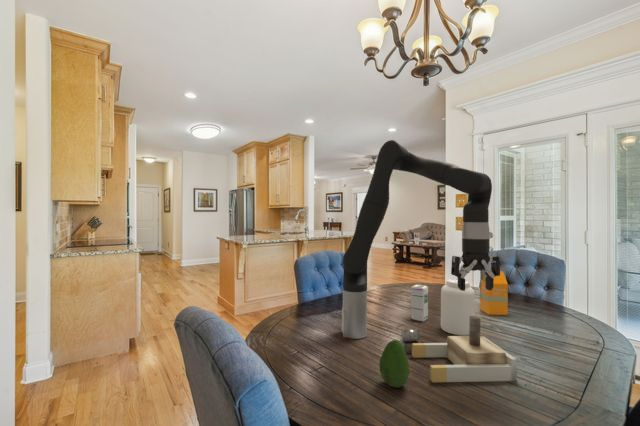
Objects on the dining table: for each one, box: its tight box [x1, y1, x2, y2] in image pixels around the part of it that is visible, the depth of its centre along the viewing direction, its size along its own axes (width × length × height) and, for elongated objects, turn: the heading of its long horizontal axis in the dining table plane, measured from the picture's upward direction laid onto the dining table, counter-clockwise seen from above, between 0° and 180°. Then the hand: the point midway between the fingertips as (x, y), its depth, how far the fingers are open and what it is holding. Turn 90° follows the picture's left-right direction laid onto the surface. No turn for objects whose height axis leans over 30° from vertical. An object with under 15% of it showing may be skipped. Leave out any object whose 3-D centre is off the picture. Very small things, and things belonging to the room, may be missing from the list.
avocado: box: [378, 339, 411, 389], centre depth 82 cm, size 8×8×12 cm
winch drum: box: [399, 328, 422, 354], centre depth 104 cm, size 6×4×7 cm, turn 93°
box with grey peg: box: [446, 315, 506, 365], centre depth 93 cm, size 11×12×15 cm
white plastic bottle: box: [440, 278, 476, 336], centre depth 122 cm, size 12×12×20 cm
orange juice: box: [480, 270, 509, 316], centre depth 146 cm, size 8×9×20 cm
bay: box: [411, 336, 518, 383], centre depth 93 cm, size 24×16×6 cm, turn 93°
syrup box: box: [410, 284, 429, 322], centre depth 136 cm, size 6×6×14 cm
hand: (475, 289), depth 94 cm, fingers open, 8 cm apart
